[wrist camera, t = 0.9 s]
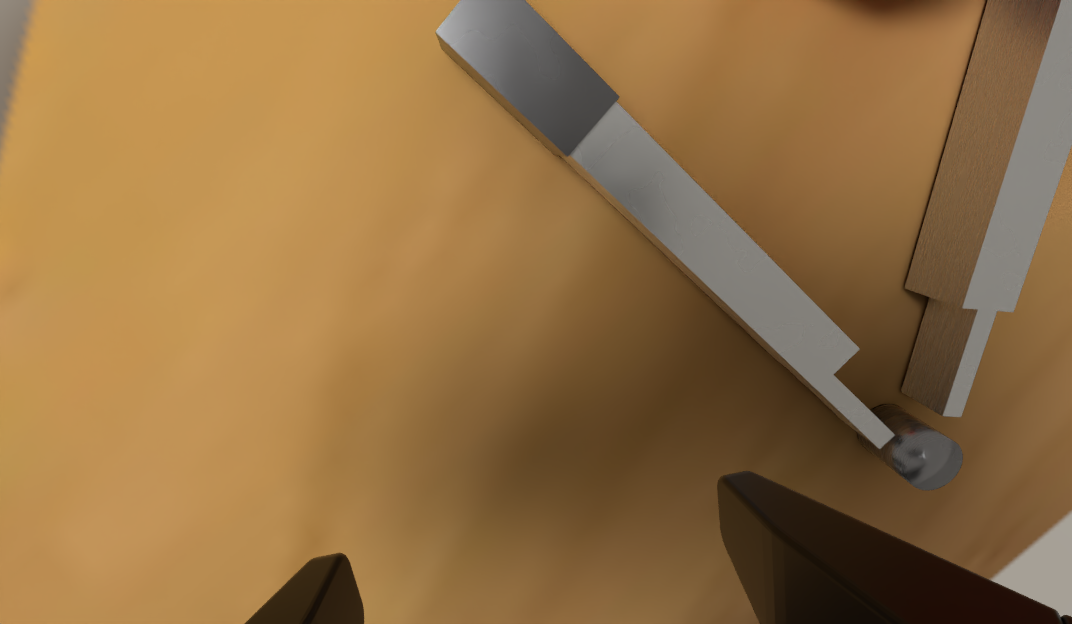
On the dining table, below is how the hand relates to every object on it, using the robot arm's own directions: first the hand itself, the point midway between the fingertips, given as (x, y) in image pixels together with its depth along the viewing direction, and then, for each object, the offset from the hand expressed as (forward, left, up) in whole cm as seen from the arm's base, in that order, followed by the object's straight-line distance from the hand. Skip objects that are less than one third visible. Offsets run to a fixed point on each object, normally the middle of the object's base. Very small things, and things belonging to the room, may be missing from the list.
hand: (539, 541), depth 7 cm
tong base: (+2, -16, -12) cm, 20 cm away
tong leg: (+1, -6, -12) cm, 14 cm away
